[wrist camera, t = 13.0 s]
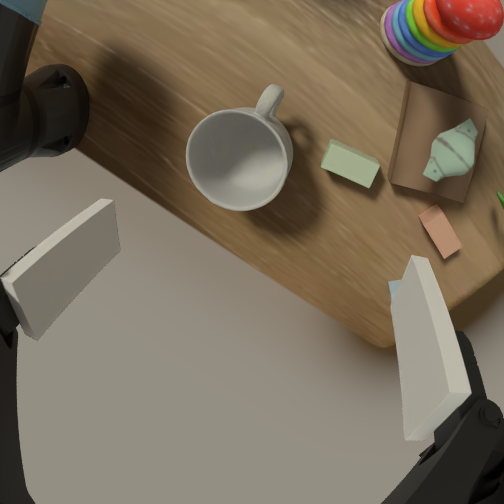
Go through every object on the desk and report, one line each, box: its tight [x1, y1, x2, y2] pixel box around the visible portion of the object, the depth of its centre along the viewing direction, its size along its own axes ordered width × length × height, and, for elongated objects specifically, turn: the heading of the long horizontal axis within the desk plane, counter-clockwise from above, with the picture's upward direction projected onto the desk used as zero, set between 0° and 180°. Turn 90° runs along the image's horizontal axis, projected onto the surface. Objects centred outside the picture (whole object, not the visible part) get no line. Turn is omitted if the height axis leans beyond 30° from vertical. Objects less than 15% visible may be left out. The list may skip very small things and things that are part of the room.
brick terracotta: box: [419, 203, 462, 259], centre depth 36 cm, size 6×3×3 cm, turn 45°
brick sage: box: [321, 139, 380, 188], centre depth 35 cm, size 6×3×3 cm, turn 72°
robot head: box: [423, 118, 478, 181], centre depth 27 cm, size 8×4×7 cm, turn 147°
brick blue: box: [388, 279, 402, 303], centre depth 41 cm, size 6×3×3 cm, turn 111°
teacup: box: [186, 84, 293, 211], centre depth 33 cm, size 14×11×8 cm
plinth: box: [387, 81, 488, 203], centre depth 30 cm, size 10×12×2 cm
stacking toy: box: [380, 0, 504, 66], centre depth 18 cm, size 8×8×19 cm
